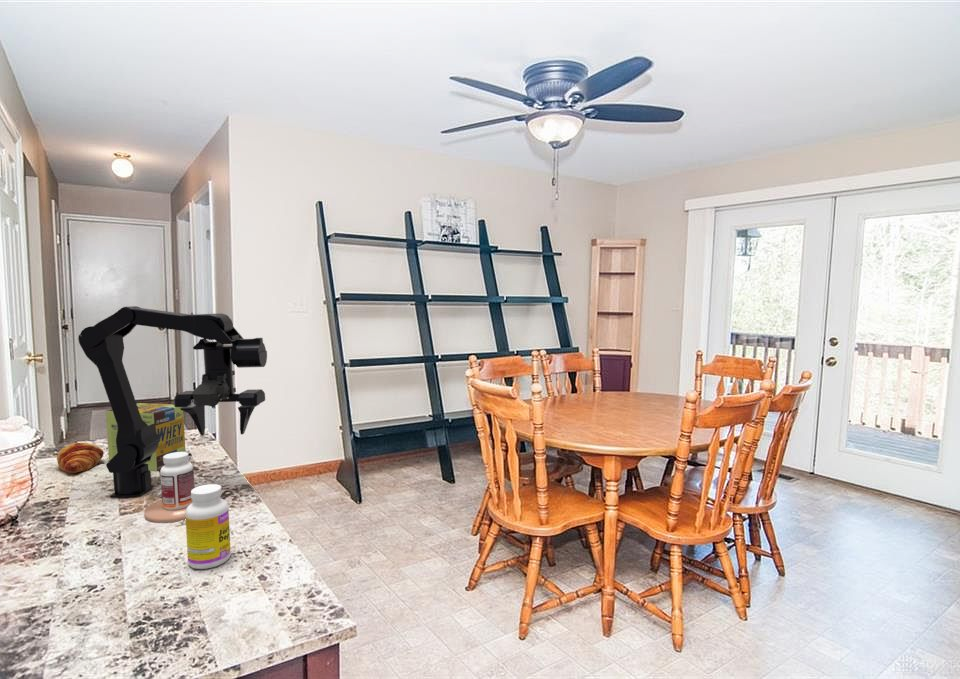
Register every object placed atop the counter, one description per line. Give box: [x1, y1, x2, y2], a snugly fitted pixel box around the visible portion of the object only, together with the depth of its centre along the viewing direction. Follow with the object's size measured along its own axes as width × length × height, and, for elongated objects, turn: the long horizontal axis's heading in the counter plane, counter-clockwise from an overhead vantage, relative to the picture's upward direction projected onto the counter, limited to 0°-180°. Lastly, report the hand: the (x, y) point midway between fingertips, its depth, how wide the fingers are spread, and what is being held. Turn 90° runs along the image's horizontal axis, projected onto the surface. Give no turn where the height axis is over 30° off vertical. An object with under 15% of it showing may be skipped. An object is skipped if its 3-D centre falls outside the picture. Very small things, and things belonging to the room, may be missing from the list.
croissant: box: [56, 441, 105, 474], centre depth 146 cm, size 21×10×8 cm, turn 31°
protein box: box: [105, 402, 187, 472], centre depth 146 cm, size 10×15×16 cm
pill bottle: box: [159, 451, 196, 510], centre depth 115 cm, size 6×6×11 cm
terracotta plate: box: [143, 499, 187, 524], centre depth 116 cm, size 13×13×1 cm
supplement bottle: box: [185, 483, 232, 570], centre depth 93 cm, size 7×7×13 cm
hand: (222, 434), depth 126 cm, fingers open, 9 cm apart
